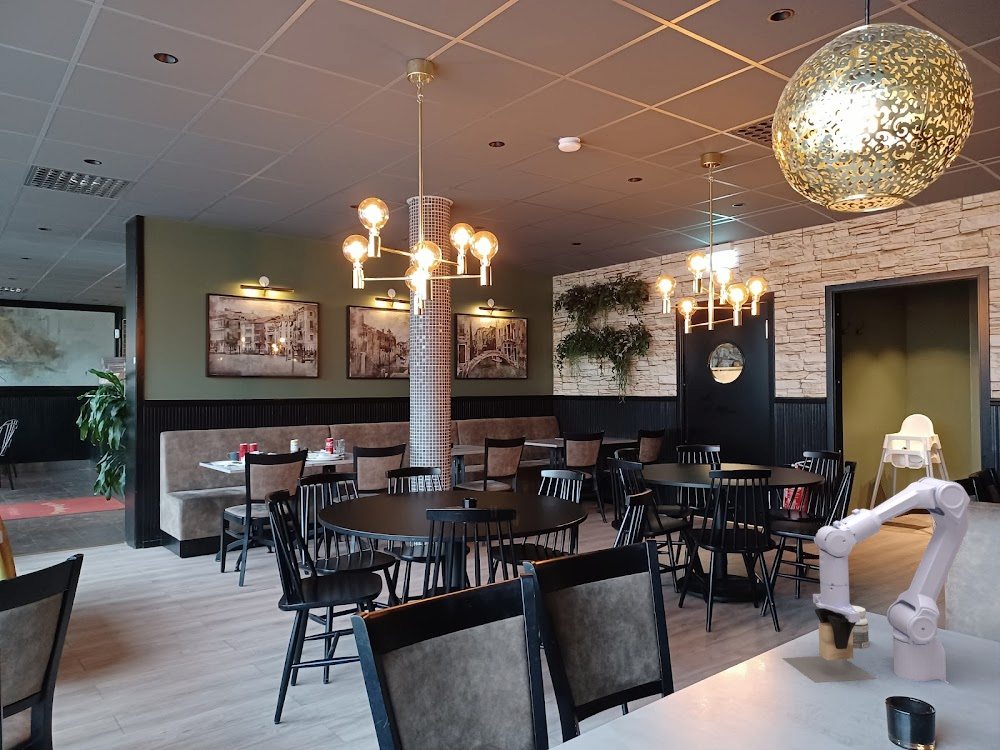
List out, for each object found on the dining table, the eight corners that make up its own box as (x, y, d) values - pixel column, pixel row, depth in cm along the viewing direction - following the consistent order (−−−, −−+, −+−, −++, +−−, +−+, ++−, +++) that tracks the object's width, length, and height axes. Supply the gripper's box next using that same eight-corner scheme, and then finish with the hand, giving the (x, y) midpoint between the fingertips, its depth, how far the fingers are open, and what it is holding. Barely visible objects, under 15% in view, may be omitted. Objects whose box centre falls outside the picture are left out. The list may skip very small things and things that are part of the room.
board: (839, 660, 167) (838, 654, 167) (877, 684, 153) (877, 678, 153) (782, 663, 165) (782, 658, 165) (815, 688, 151) (815, 682, 151)
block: (845, 653, 157) (844, 621, 157) (853, 658, 154) (852, 625, 155) (819, 655, 157) (818, 623, 157) (827, 660, 154) (826, 627, 154)
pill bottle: (839, 644, 177) (838, 604, 177) (863, 645, 176) (862, 605, 176) (847, 653, 171) (846, 611, 171) (872, 654, 170) (871, 612, 171)
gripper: (799, 575, 163) (801, 635, 162) (836, 592, 148) (838, 658, 148) (828, 573, 164) (830, 633, 163) (868, 591, 149) (870, 656, 149)
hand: (836, 645), depth 156 cm, fingers closed on block, 3 cm apart
